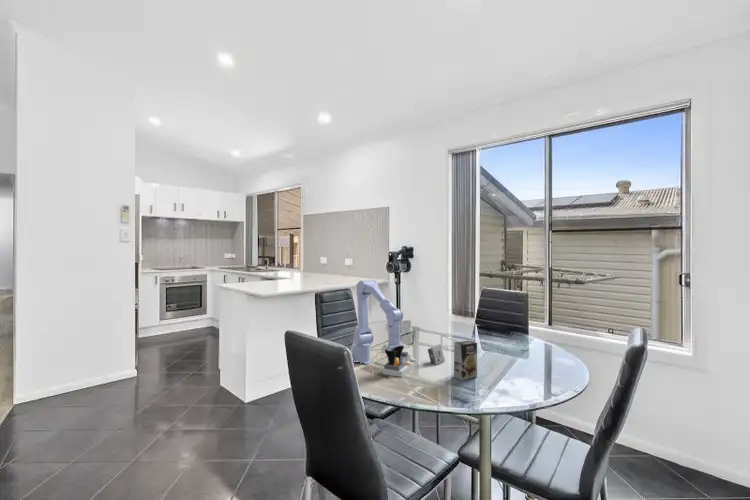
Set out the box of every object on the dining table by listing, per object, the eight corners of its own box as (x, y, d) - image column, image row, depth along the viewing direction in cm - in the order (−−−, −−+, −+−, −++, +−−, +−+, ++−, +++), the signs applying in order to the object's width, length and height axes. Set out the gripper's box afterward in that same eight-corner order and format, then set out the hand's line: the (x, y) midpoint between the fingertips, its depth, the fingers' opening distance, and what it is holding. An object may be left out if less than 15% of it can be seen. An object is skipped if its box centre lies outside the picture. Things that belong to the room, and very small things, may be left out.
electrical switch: (436, 365, 190) (435, 347, 191) (428, 364, 193) (426, 347, 194) (445, 361, 197) (443, 344, 198) (436, 361, 200) (435, 343, 201)
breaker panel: (382, 374, 176) (382, 363, 176) (399, 362, 196) (399, 353, 196) (401, 376, 172) (401, 366, 172) (417, 364, 191) (417, 355, 192)
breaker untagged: (400, 357, 190) (400, 352, 190) (402, 356, 193) (402, 351, 193) (405, 358, 189) (405, 353, 189) (407, 356, 192) (407, 352, 192)
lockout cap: (389, 368, 177) (389, 357, 177) (392, 365, 181) (392, 355, 181) (397, 369, 175) (397, 358, 175) (400, 366, 179) (400, 356, 179)
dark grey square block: (395, 363, 184) (395, 358, 184) (397, 361, 187) (397, 356, 187) (401, 364, 183) (401, 359, 183) (403, 362, 186) (403, 357, 186)
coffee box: (462, 380, 167) (462, 344, 167) (453, 376, 172) (453, 342, 173) (477, 377, 171) (477, 342, 171) (468, 373, 177) (468, 340, 177)
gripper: (396, 338, 170) (396, 367, 170) (407, 332, 183) (407, 359, 183) (382, 336, 173) (382, 365, 173) (394, 331, 186) (394, 358, 186)
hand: (394, 362), depth 178 cm, fingers open, 7 cm apart
